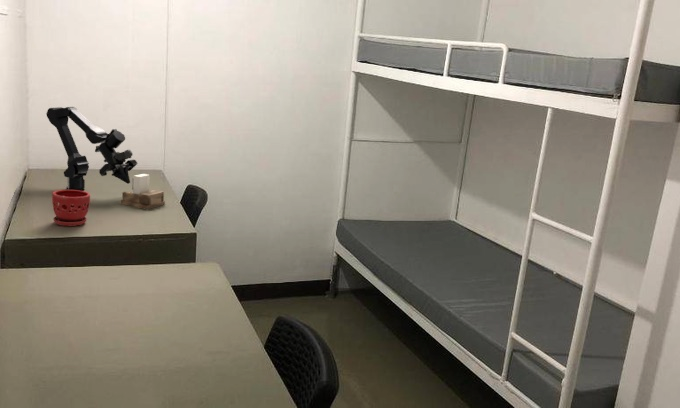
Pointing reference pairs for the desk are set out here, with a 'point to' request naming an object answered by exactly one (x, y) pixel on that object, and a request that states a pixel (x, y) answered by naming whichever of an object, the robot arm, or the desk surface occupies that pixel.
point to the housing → (143, 199)
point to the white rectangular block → (140, 183)
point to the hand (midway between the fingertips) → (129, 183)
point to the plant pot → (70, 207)
